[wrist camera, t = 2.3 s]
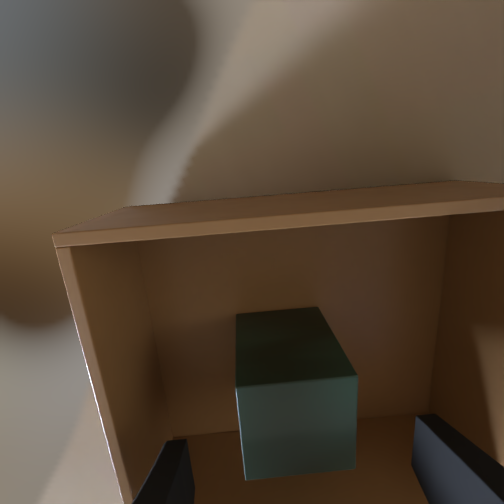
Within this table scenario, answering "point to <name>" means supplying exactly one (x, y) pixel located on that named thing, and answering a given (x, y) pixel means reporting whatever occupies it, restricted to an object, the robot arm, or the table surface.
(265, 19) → the table surface
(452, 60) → the table surface
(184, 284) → the carton
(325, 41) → the table surface
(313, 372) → the block
